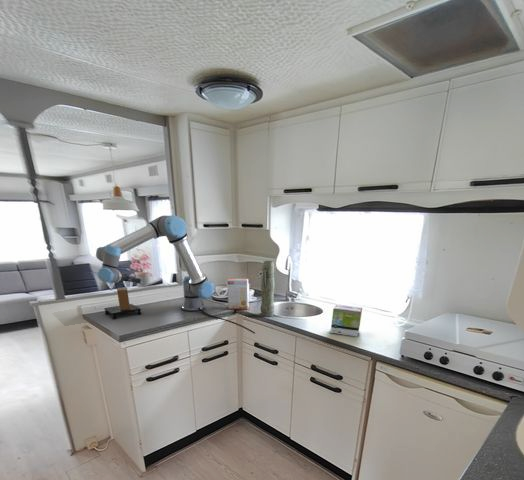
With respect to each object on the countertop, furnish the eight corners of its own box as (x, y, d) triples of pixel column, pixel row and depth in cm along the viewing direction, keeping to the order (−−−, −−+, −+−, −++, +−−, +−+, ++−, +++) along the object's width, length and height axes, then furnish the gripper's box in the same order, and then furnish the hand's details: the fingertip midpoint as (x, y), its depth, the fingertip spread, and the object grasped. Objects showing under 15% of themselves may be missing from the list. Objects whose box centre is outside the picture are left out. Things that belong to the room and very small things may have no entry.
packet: (130, 309, 210) (127, 289, 205) (120, 310, 208) (117, 290, 203) (129, 306, 217) (126, 287, 212) (120, 307, 215) (117, 287, 210)
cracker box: (248, 307, 234) (248, 278, 226) (247, 310, 228) (247, 280, 220) (229, 307, 235) (229, 278, 227) (228, 309, 229) (227, 279, 222)
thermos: (276, 313, 222) (277, 260, 208) (271, 317, 211) (272, 262, 198) (263, 312, 224) (264, 259, 211) (258, 316, 214) (258, 262, 200)
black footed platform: (141, 314, 215) (140, 308, 214) (113, 319, 204) (112, 313, 202) (132, 309, 226) (131, 303, 225) (105, 313, 215) (104, 307, 213)
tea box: (330, 333, 184) (332, 308, 178) (333, 328, 193) (335, 304, 187) (357, 337, 179) (360, 311, 174) (359, 331, 188) (362, 306, 182)
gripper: (91, 276, 183) (107, 278, 204) (136, 288, 185) (146, 288, 206) (94, 263, 182) (109, 266, 202) (138, 275, 184) (149, 277, 205)
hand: (128, 277), depth 204 cm, fingers open, 13 cm apart
